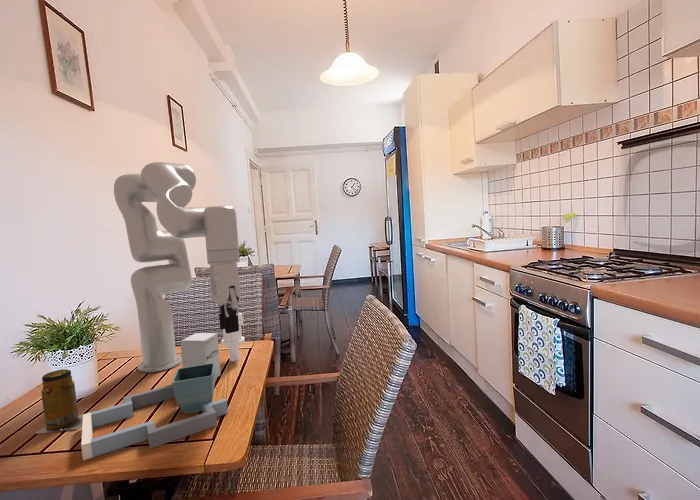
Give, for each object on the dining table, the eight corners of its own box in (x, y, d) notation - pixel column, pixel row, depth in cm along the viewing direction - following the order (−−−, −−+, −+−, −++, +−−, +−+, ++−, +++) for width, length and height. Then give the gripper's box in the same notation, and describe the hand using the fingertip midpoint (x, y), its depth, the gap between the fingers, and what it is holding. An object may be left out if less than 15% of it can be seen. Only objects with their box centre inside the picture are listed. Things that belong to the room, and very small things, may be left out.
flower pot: (175, 420, 86) (171, 382, 85) (180, 403, 95) (177, 368, 94) (216, 413, 89) (212, 375, 88) (218, 396, 97) (215, 362, 96)
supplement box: (207, 386, 104) (203, 340, 103) (183, 385, 105) (178, 340, 104) (221, 375, 111) (218, 332, 110) (198, 374, 112) (195, 332, 111)
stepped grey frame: (84, 420, 89) (83, 407, 88) (207, 385, 104) (206, 375, 104) (82, 471, 70) (80, 455, 69) (233, 420, 85) (232, 407, 85)
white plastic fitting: (242, 363, 119) (238, 316, 118) (219, 364, 120) (215, 317, 118) (248, 355, 126) (245, 310, 125) (227, 356, 127) (223, 311, 125)
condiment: (57, 417, 91) (51, 368, 90) (94, 413, 92) (89, 365, 91) (35, 434, 84) (28, 381, 83) (76, 430, 84) (69, 377, 83)
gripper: (199, 256, 99) (205, 326, 100) (216, 260, 85) (223, 341, 86) (228, 253, 103) (234, 320, 104) (250, 257, 89) (256, 334, 90)
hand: (229, 329), depth 95 cm, fingers open, 3 cm apart
